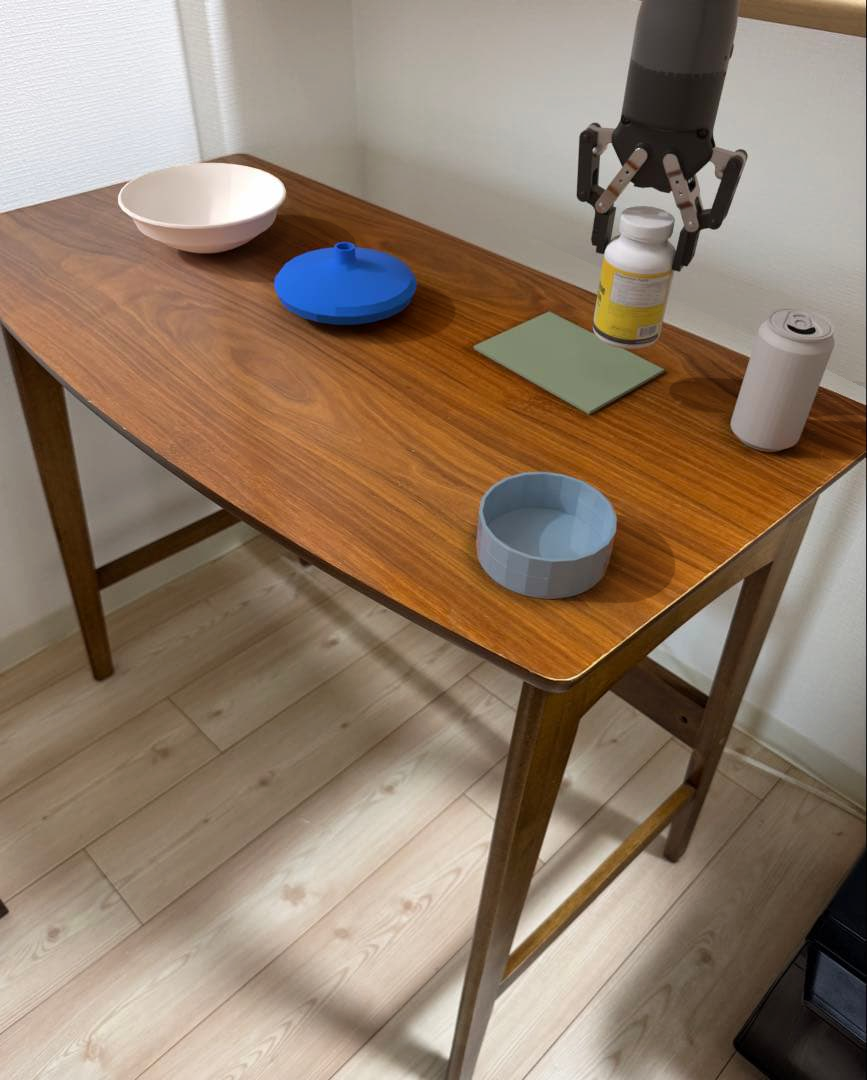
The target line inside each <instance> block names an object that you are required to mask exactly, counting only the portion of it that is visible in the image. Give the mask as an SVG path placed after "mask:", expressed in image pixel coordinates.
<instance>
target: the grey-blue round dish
mask: <svg viewBox="0 0 867 1080" xmlns="http://www.w3.org/2000/svg"><path fill="white" fill-rule="evenodd" d="M617 523H618V517H617V514H616V512H615V509H614V507H613V505H612V503H611V501H610V500H609V499H608V498H607V497H606V496H605V495H604V494H603V493H602V492H601V491H600V490H599V489H597V488H595V487H594V486H593V485H590V484H589V483H587V482H586V481H584V480H582V479H578V478H576V477H572V476H569V475H567V474H564V473H557V472H556V473H555V472H551V471H550V472H549V471H530V472H529V471H528V472H527V471H526V472H521V473H517V474H514V475H510V476H507V477H504V478H502V479H501V480H499V481H498V482H496V483H494V484H493V485H491V486H490V487H489V488H488V489H487V491H486V492H485V493H484V494H483V496H482V497H481V499H480V506H479V509H478V516H477V529H476V539H475V547H476V557H477V559H478V561H479V564H480V565H481V567H482V569H483V570H484V572H485V573H486V574H487V576H489V578H491V579H492V580H494V582H496V583H497V584H498V585H500V586H502V587H504V588H505V589H507V590H510V591H511V592H514V593H517V594H519V595H523V596H526V597H529V598H530V597H531V598H536V599H544V600H547V599H548V600H553V599H554V600H556V599H565V598H570V597H574V596H577V595H580V594H583V593H584V592H585V593H586V592H587V591H589V590H590V589H592V588H593V587H595V586H596V585H597V584H598V583H599V582H600V581H601V580H602V578H603V577H604V576H605V574H606V572H607V569H608V566H609V565H610V560H611V556H612V551H613V547H614V544H615V543H614V542H615V538H616V534H617Z"/></svg>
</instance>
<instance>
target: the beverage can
mask: <svg viewBox="0 0 867 1080" xmlns="http://www.w3.org/2000/svg"><path fill="white" fill-rule="evenodd" d="M835 330H836V327H835V325H834V323H833V322H832V321H831V320H830V319H829V318H827V317H826V316H824V315H823V314H821V313H819V312H816V311H813V310H811V309H810V310H809V309H806V308H799V307H780V308H776V309H773V310H771V311H770V312H769V313H768V314H767V317H766V320H765V321H763V322H762V323H761V325H759V328H758V331H757V334H756V337H755V340H754V344H753V347H752V351H751V353H750V357H749V359H748V363H747V366H746V370H745V374H744V377H743V379H742V383H741V386H740V390H739V393H738V397H737V399H736V402H735V406H734V410H733V412H732V415H731V419H730V429H731V431H732V432H733V434H734V435H735V436H736V437H737V438H738V439H739V440H740V442H742V443H743V444H745V445H746V446H748V447H749V448H751V449H754V450H757V451H760V452H766V453H774V452H780V451H783V450H786V449H789V448H792V447H794V446H795V445H797V443H798V442H799V441H800V439H801V435H802V433H803V431H804V428H805V425H806V422H807V420H808V417H809V414H810V411H811V409H812V406H813V404H814V401H815V398H816V396H817V393H818V391H819V387H820V385H821V382H822V379H823V377H824V374H825V371H826V369H827V366H828V363H829V360H830V358H831V356H832V353H833V350H834V348H835V345H836V344H835V338H834V334H835Z"/></svg>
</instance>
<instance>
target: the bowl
mask: <svg viewBox="0 0 867 1080" xmlns="http://www.w3.org/2000/svg"><path fill="white" fill-rule="evenodd" d="M286 198H287V190H286V187H285V184H284V183H283V182H282V181H281V180H280V179H279V177H276V176H275V175H273V174H271V173H270V172H267V171H265V170H262V169H260V168H255V167H251V166H248V165H241V164H235V163H225V162H224V163H223V162H197V163H185V164H176V165H172V166H167V167H161V168H157V169H156V170H152V171H149V172H146V173H143V174H141V175H139V176H136V177H135V178H133V179H131V180H130V181H128V182H127V183H126V184H125V185H124V186H123V187H121V189H120V191H119V193H118V195H117V202H118V206H119V207H120V209H121V211H123V212H124V213H125V214H126V215H128V216H129V217H130V218H131V219H132V220H133V222H134V224H135V225H136V227H137V229H138V230H139V232H141V233H142V234H143V235H145V236H146V237H148V238H151V239H152V240H155V241H158V242H160V243H162V244H164V245H167V246H168V247H170V248H173V249H176V250H179V251H184V252H189V253H193V254H217V253H224V252H227V251H230V250H233V249H235V248H238V247H240V246H243V245H245V244H247V243H249V242H251V241H252V240H254V239H255V238H256V237H257V236H259V235H260V234H262V233H263V232H265V231H267V230H268V229H269V228H270V227H271V226H272V225H273V224H274V222H275V221H276V217H277V213H278V210H279V208H280V207H281V205H283V203H284V201H285V200H286Z"/></svg>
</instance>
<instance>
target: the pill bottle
mask: <svg viewBox="0 0 867 1080" xmlns="http://www.w3.org/2000/svg"><path fill="white" fill-rule="evenodd" d="M619 218H620V219H619V223H618V230H619V233H620V234H618V235H615V236H614V237H613V238H611V240H610V242H609V243H608V244H607V246H606V248H605V253H604V254H603V260H602V265H601V271H600V277H599V282H598V290H597V294H596V302H595V308H594V314H593V320H592V330H593V334H595V335H596V336H597V337H598V338H599V339H600V340H601V341H603V342H605V343H606V344H609V345H611V346H614V347H618V348H623V349H625V350H638V349H643V348H646V347H650V346H651V345H653V344H654V343H656V342H657V341H658V340H659V338H660V335H661V332H662V329H663V328H662V327H663V323H664V318H665V314H666V310H667V306H668V305H667V304H668V300H669V296H670V291H671V287H672V284H673V279H674V274H675V271H674V270H672V267H673V262H674V258H675V253H676V248H675V246H674V245H673V243H672V242H670V240H669V239H670V238H671V237H672V235H673V233H674V228H675V221H676V220H675V216H674V215H673V214H672V213H670V212H669V211H667V210H665V209H663V208H658V207H654V206H647V205H635V206H631V207H628V208H625V209H624V210H623V211H622V212H621V214H620V217H619Z"/></svg>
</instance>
